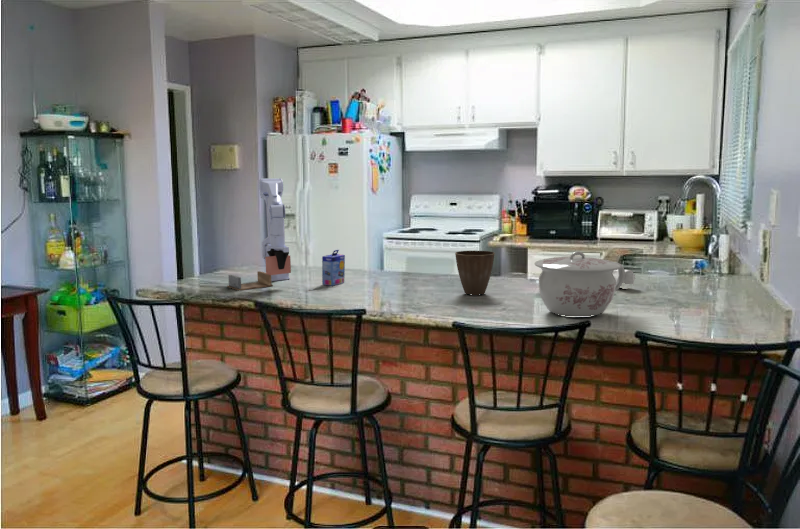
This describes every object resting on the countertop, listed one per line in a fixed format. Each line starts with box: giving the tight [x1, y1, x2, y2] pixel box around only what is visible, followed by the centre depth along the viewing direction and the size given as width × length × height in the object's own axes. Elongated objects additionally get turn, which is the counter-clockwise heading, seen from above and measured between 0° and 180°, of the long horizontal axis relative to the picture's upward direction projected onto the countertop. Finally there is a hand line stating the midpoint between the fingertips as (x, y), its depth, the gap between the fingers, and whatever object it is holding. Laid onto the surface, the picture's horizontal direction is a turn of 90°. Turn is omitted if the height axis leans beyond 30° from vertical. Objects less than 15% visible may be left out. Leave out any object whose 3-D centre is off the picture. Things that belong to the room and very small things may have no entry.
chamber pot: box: [534, 251, 626, 316], centre depth 211 cm, size 28×27×21 cm
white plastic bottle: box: [612, 269, 636, 286], centre depth 261 cm, size 8×19×8 cm, turn 31°
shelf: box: [227, 270, 273, 291], centre depth 266 cm, size 15×10×5 cm, turn 129°
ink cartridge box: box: [321, 249, 346, 287], centre depth 270 cm, size 10×6×14 cm, turn 152°
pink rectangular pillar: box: [265, 254, 292, 275], centre depth 260 cm, size 9×4×7 cm, turn 129°
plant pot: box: [454, 250, 496, 296], centre depth 247 cm, size 15×15×16 cm
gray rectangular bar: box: [228, 274, 242, 289], centre depth 261 cm, size 1×9×4 cm, turn 39°
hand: (278, 268), depth 260 cm, fingers closed on pink rectangular pillar, 4 cm apart
